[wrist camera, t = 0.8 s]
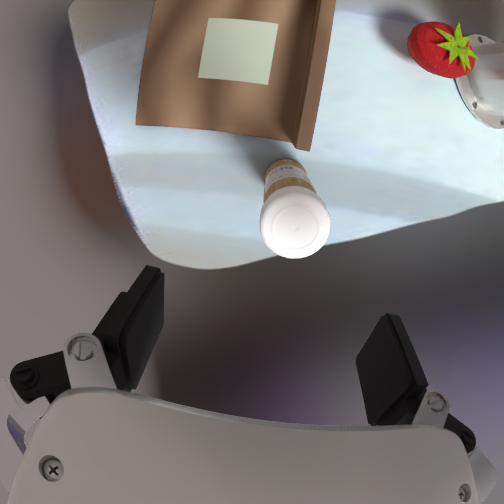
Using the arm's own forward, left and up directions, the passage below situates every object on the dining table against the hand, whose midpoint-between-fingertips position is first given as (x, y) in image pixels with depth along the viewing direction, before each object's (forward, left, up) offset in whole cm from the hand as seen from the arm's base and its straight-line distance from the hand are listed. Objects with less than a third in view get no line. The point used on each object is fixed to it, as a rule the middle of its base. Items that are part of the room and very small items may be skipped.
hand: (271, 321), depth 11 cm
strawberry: (-13, -19, -21) cm, 31 cm away
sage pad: (+6, -14, -20) cm, 25 cm away
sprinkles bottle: (-1, -1, -21) cm, 21 cm away
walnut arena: (+7, -14, -21) cm, 26 cm away
